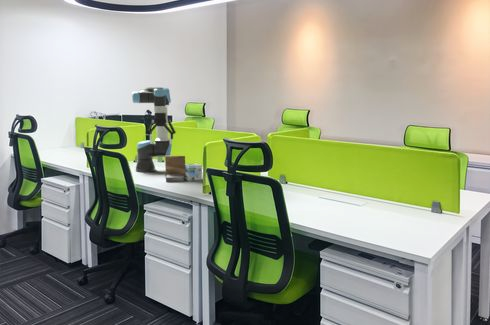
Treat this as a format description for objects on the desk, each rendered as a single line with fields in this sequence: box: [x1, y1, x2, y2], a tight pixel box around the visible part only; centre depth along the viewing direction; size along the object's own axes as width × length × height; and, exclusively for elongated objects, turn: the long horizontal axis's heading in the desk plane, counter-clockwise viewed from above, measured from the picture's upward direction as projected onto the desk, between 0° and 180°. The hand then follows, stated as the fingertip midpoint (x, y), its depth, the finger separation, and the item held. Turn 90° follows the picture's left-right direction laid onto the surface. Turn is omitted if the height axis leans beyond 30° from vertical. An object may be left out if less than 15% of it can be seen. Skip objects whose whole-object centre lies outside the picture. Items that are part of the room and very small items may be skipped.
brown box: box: [164, 155, 186, 183], centre depth 309 cm, size 14×14×16 cm
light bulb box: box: [184, 163, 203, 182], centre depth 311 cm, size 11×7×11 cm, turn 117°
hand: (160, 144), depth 296 cm, fingers open, 13 cm apart
